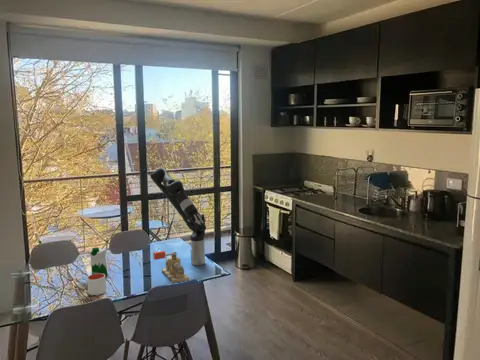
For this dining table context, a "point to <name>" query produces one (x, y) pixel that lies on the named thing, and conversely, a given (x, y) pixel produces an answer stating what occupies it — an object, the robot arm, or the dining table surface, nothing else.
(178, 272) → the valve
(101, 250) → the milk carton
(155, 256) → the lever
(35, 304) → the dining table surface
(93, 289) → the cup
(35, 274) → the dining table surface
